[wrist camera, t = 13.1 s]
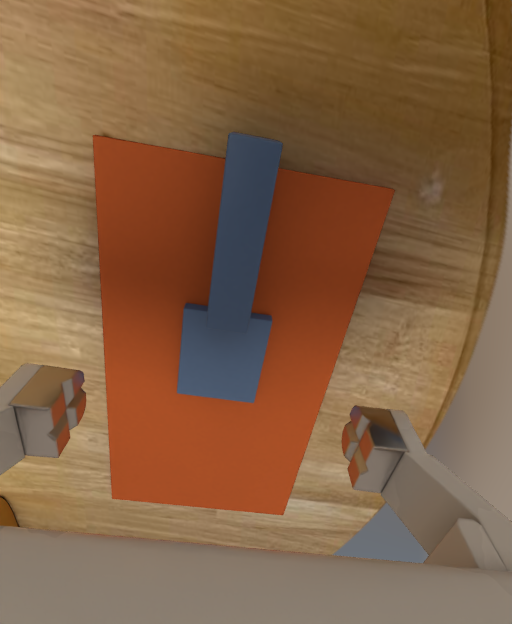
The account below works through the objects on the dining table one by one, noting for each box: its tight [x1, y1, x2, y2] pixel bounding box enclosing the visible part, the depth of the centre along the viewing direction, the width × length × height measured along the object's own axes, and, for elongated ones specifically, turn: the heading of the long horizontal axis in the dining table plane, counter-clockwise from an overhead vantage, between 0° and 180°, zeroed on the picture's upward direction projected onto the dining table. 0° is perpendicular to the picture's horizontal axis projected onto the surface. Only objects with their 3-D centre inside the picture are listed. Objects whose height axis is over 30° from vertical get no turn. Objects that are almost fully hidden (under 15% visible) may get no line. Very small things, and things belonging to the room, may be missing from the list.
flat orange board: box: [93, 135, 395, 515], centre depth 25 cm, size 30×16×1 cm, turn 170°
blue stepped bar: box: [177, 132, 283, 403], centre depth 20 cm, size 17×6×3 cm, turn 170°
